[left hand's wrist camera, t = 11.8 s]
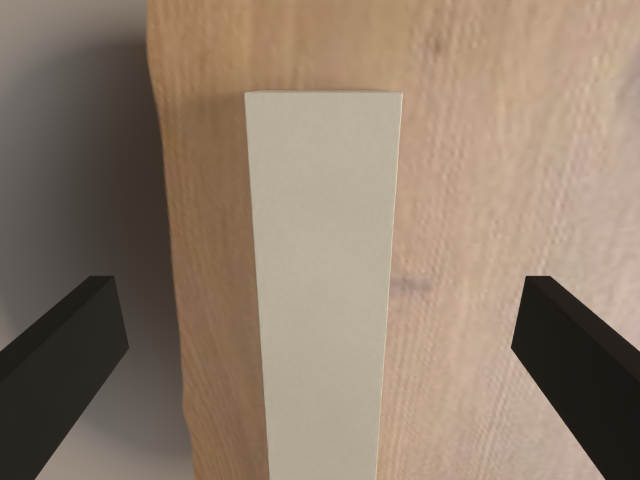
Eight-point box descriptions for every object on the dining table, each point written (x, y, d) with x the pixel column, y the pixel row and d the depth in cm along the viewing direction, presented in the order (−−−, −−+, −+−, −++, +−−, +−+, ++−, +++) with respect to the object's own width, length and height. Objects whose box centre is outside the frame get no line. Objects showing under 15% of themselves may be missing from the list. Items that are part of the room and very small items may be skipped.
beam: (259, 90, 30) (243, 92, 24) (386, 90, 30) (402, 92, 24) (286, 601, 53) (282, 668, 47) (357, 601, 53) (362, 668, 47)
